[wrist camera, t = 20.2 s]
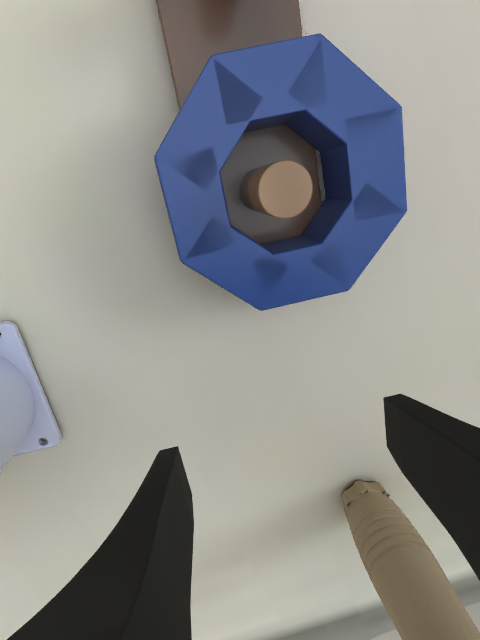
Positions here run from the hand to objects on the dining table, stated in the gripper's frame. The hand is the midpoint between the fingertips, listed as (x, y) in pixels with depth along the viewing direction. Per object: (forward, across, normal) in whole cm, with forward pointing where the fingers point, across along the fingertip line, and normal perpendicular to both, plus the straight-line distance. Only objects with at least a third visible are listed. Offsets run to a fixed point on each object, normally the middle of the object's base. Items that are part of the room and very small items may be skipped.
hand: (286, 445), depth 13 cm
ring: (+9, -3, -8) cm, 12 cm away
